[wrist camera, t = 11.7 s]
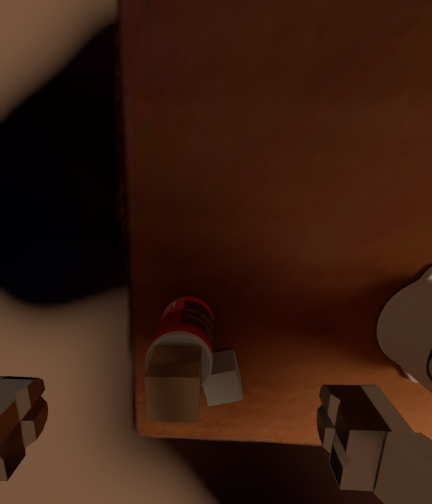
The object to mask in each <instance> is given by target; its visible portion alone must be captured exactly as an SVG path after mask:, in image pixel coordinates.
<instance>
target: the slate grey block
mask: <svg viewBox="0 0 432 504" xmlns="http://www.w3.org/2000/svg"><path fill="white" fill-rule="evenodd" d="M203 389H204V392H205V395H206V399H207V402H208V406H213V405H219V404H224V403H229V402H234V401H240V400H243V395H242V386H241V377H240V372H239V368H238V364H237V360H236V356H235V352H234V349H231V350H226V351H221V352H217V353H213V364H212V370H211V374H210V376H209V378H208V380H207V381H206V383H205V384H204V385H203Z"/></svg>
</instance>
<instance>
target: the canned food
mask: <svg viewBox="0 0 432 504" xmlns="http://www.w3.org/2000/svg"><path fill="white" fill-rule="evenodd" d="M213 340H214V317H213V313H212V311H211V309H210V307H209V306H208V305H207V304H206V303H205V302H204V301H203V300H201V299H200V298H197V297H194V296H183V297H180V298H177V299H176V300H174V301H172V302H171V303H170V304H169V305H168V306H167V307H166V309H165V311H164V313H163V315H162V317H161V320H160V322H159V324H158V327H157V329H156V331H155V334H154V336H153V339H152V341H151V343H150V346H149V349H148V351H147V354H146V359H145V369H146V372H147V369H148V366H149V364H150V361H151V358H152V356H153V353H154V350H155V348H156V346H193V347H202V386H203V385H204V384H205V383H206V381H207V380H208V378H209V376H210V374H211V370H212V364H213ZM202 386H201V387H202Z"/></svg>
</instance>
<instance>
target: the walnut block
mask: <svg viewBox="0 0 432 504" xmlns="http://www.w3.org/2000/svg"><path fill="white" fill-rule="evenodd" d="M201 386H202V347H193V346H156V348H155V350H154V353H153V356H152V358H151V361H150V364H149V366H148V369H147V372H146V374H145V396H146V416H147V421H166V422H199V410H200V398H201Z"/></svg>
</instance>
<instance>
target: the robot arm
mask: <svg viewBox="0 0 432 504" xmlns="http://www.w3.org/2000/svg"><path fill="white" fill-rule="evenodd" d="M377 340H378V343H379V346H380V348H381V349H382V351H383V352H384V354H385V355H386V356H387V357H388V358H390V359H391V360H392V361H394V362H395V363H397V364H398V365H399V366H400V367H401V369H402V370H403V372H404V374H405V375H406V377H407V378H409V379H410V380H411V381H412V382H414V383H420V384H421V385H423V386H424V387H425V388H426V389H427V390H429V391H430V392H431V393H432V267H430V268H429V269H428V270H427V271H426V272H425V273H424V274H423V275H422V277H421V278H420V279H419V280H417V281H416V282H414V283H412V284H410V285H408V286H407V287H405V288H403V289H402V290H400V291H399V292H398V293H396V294H395V295H394V296H393V297H392V298H391V299H390V300H389V301H388V302H387V304H386V305H385V307H384V308H383V310H382V312H381V314H380V316H379V319H378V323H377ZM44 391H45V387H44V382H43V380H42V379H40V378H33V377H14V376H5V377H4V376H0V481H8V480H9V478H10V477H11V475H12V474H13V472H14V471H15V470H16V468H17V467H18V465H19V464H20V463H21V461H22V460H23V458H24V457H25V455H26V454H25V447H27V446H28V445H30V444H31V443H33V442H34V441H35V440H37V438H38V437H39V435H40V434H41V432H42V431H43V429H44V426H45V423H46V421H47V416H48V405H47V402H46V401H45V400H44V399H43V398H42V397H41V395H42V394H43V392H44ZM319 397H320V399H321V401H322V403H323V404H322V405H321V406H320V407H319V408H318V410H317V429H318V433H319V437H320V440H321V443H322V446H323V447H324V448H325V449H326V450H327V451H328V452H329V453H330V462H329V464H330V466H331V468H332V471H333V474H334V476H335V479H336V481H337V484H338V486H339V488H340V489H345V490H363V491H374V493H375V494H376V496H377V497H378V498H380V500H381V501H382V502H383V503H384V504H432V440H431V439H430V438H428V437H426V436H425V435H423V434H422V433H415V432H414V431H413V430H412V429H411V427H410V426H409V425H408V423H407V422H406V421H405V420H404V418H403V417H402V416H401V415H400V413H399V412H398V411H397V409H396V408H395V407H394V406H393V404H392V403H391V402H390V401H389V399H388V398H387V397H386V395H385V394H384V393H383V392H382V390H381V389H380V388H379V387H378V386H376V385H322V387H321V389H320V395H319Z"/></svg>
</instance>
